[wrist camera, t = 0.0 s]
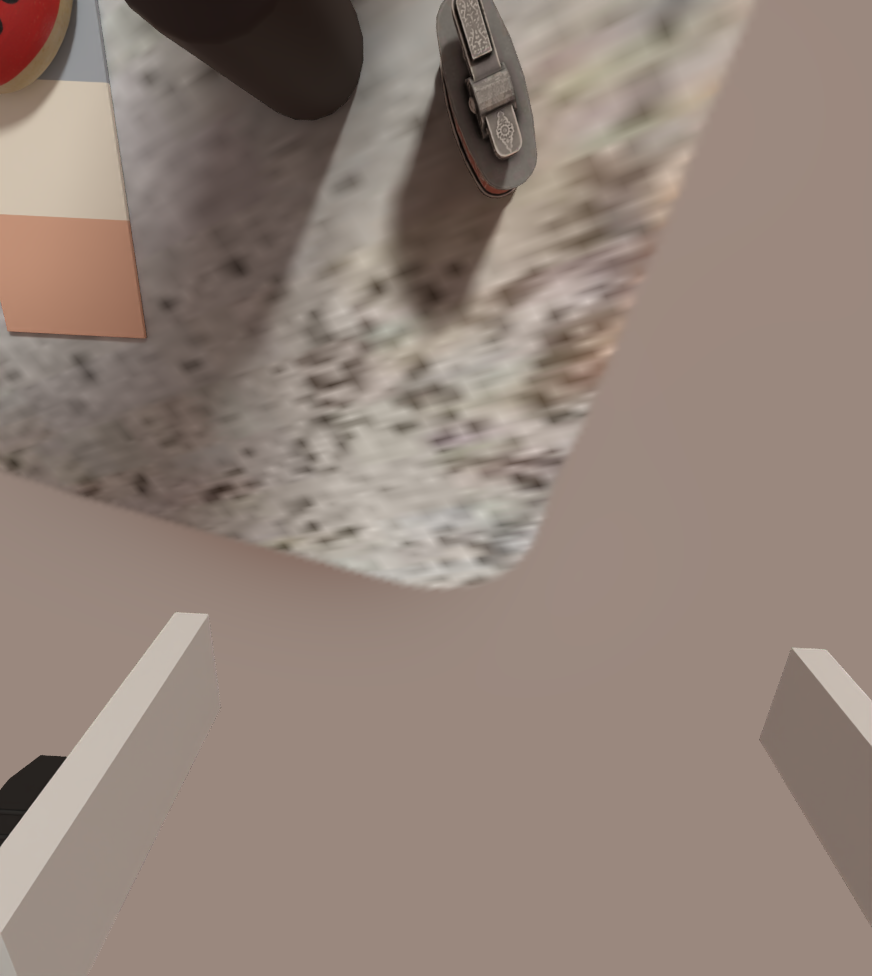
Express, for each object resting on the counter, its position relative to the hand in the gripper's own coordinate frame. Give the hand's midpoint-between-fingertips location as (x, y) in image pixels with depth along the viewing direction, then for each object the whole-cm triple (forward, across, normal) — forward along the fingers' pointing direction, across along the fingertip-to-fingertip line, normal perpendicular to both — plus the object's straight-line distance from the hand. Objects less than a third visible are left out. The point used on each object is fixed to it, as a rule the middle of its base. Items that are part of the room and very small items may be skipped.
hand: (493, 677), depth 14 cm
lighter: (+28, 0, +15) cm, 32 cm away
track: (+28, -26, +13) cm, 40 cm away
